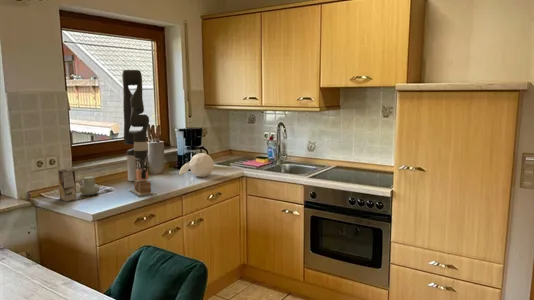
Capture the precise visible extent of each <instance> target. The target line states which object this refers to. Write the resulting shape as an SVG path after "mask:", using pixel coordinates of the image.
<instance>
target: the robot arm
mask: <svg viewBox="0 0 534 300" xmlns="http://www.w3.org/2000/svg"><path fill="white" fill-rule="evenodd" d="M121 76H122V77H121V78H122V79H121V80H122V90H123V91H122V92H123V105H122V106H123V122H124V124H123V142H124V144H125V145H133V147H132V148H129V149H128V150H127V151H126V159H127V160H126V162H127V181H129V182H134V180H137V179H136V171H135V170H137V169H141V174H142V179H146V172H147V170H148V161H146V159H147V158H148V157H149V153H148V151H149V150H148V142H147V141H148V140H147V139H148V138H147V135H148V134H147V133H148V128H149V124H150V117H149V116H148V115H147V114H143V113H144V112H145V105H144V99H143V75H142V72H141V71H140V70H139V69H123V71H122V75H121ZM129 86H136V88H135V90H134V92H133V93H132V92H131V90H130V87H129ZM131 127H133V128H141V129H140V130H138V129H137V130H135V129H134V130H131V129H130V128H131Z"/></svg>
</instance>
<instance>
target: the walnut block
mask: <svg viewBox="0 0 534 300" xmlns="http://www.w3.org/2000/svg"><path fill="white" fill-rule="evenodd" d="M133 183H134V189H135V191H137V192H138V193H140V194H143V193H150V192H151V191H152V184H151V181H149V180H140V181H139V180H134V181H133Z"/></svg>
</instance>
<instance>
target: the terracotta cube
mask: <svg viewBox="0 0 534 300" xmlns="http://www.w3.org/2000/svg"><path fill="white" fill-rule="evenodd" d="M135 171H136V179H137V180H139V181H140V180H147V181H149V169H147V172H146V179H142V174H141V169H137V170H135Z"/></svg>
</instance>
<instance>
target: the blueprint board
mask: <svg viewBox="0 0 534 300" xmlns="http://www.w3.org/2000/svg"><path fill="white" fill-rule="evenodd" d="M129 192H130V193H132V194H134V195H135V196H136V197H138V198H143V197H149V195H151V196H154V195H153V194H156V195H157V192H154V191H153V190H151V192H150V193H143V194H140V193H138V192H137V191H135V188H133V189H129Z"/></svg>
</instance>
